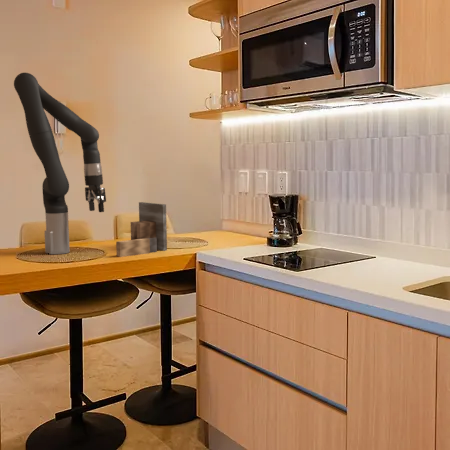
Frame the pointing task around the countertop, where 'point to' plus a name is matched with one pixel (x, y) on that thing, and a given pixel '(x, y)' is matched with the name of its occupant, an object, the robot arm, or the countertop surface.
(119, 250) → the rail
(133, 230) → the slotted block base plate
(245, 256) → the countertop surface
